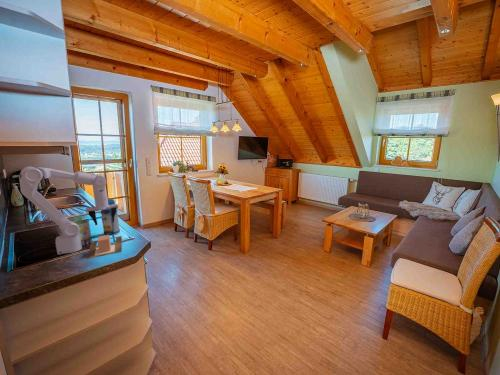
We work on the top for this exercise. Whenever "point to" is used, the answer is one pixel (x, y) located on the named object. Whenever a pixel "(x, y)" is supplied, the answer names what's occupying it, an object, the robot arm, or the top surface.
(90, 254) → the walnut pocket board
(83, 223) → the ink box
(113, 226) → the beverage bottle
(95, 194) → the robot arm
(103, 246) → the terracotta block
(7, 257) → the top surface
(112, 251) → the cream square
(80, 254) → the top surface
